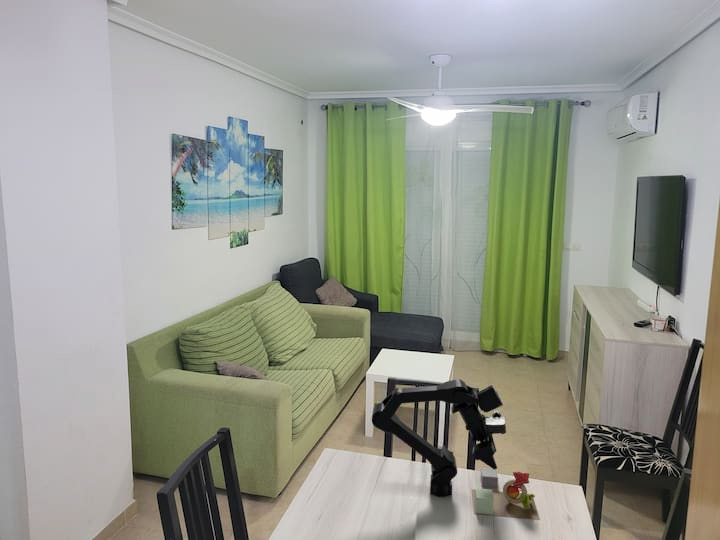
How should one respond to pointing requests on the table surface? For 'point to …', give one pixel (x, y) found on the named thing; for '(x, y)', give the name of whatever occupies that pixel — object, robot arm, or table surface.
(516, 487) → the bird rattle
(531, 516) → the walnut board
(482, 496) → the sage block
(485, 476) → the grey block
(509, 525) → the table surface
